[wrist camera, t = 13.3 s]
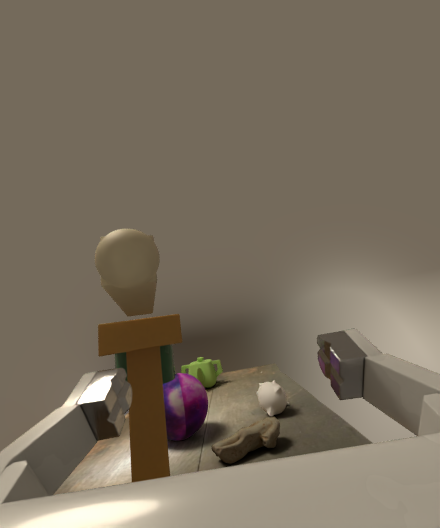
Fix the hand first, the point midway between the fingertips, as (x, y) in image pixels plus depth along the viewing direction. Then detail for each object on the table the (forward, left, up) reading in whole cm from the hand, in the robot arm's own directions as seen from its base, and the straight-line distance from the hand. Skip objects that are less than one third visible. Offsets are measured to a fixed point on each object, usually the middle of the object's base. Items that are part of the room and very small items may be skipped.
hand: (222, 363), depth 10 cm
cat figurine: (+45, -49, -24) cm, 70 cm away
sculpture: (+35, -29, -24) cm, 51 cm away
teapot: (+95, -56, -24) cm, 113 cm away
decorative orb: (+55, -24, -24) cm, 64 cm away
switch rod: (+8, +1, +4) cm, 9 cm away
